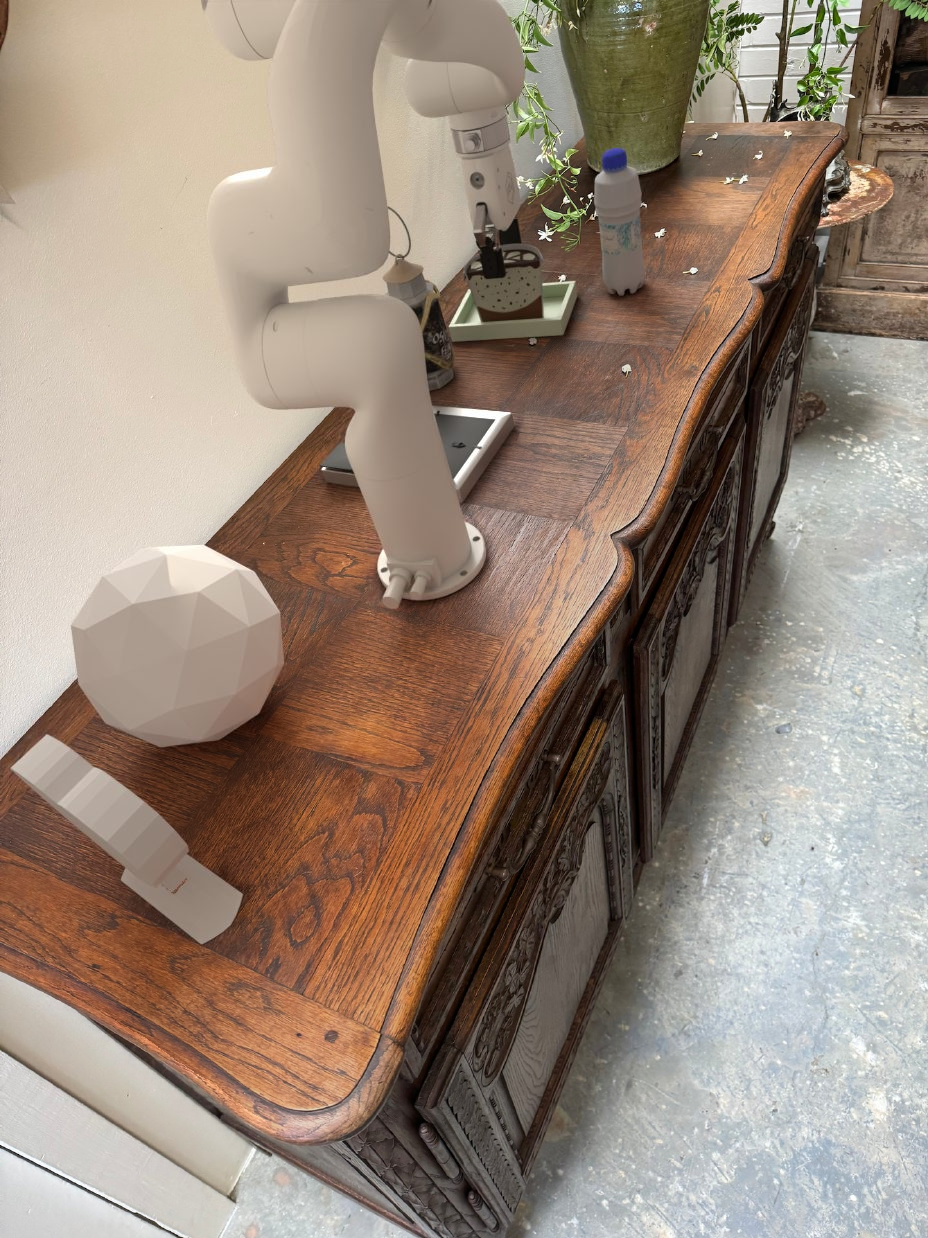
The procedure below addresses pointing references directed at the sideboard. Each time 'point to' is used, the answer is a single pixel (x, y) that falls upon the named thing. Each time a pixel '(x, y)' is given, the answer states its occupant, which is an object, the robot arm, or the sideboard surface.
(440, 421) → the picture frame
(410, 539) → the robot arm
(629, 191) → the bottle
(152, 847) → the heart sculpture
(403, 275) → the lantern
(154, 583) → the ball
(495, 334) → the tray
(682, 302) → the sideboard surface
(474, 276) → the food container
